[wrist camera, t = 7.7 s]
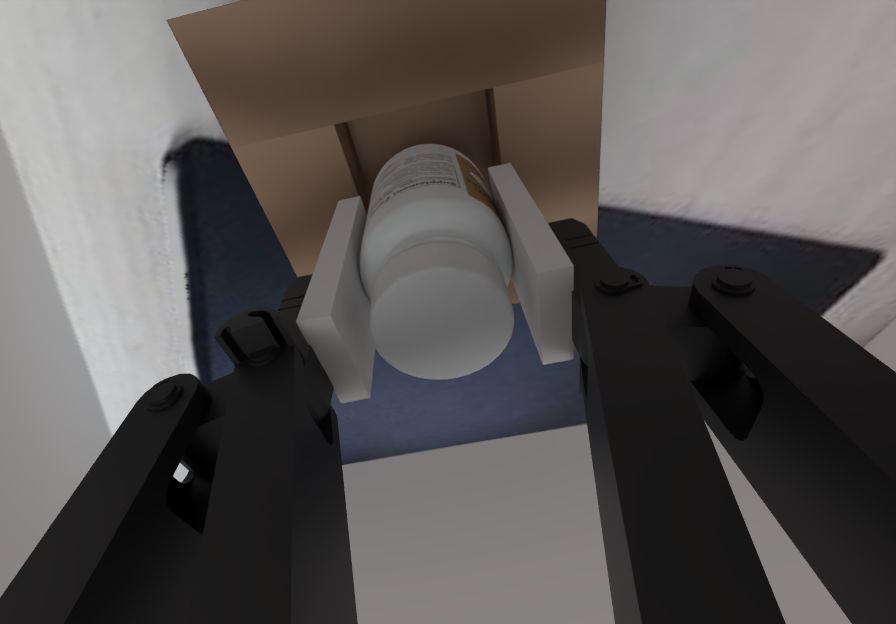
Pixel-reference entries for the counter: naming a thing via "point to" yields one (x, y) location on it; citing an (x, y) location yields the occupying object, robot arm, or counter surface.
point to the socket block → (401, 98)
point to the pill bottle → (436, 265)
